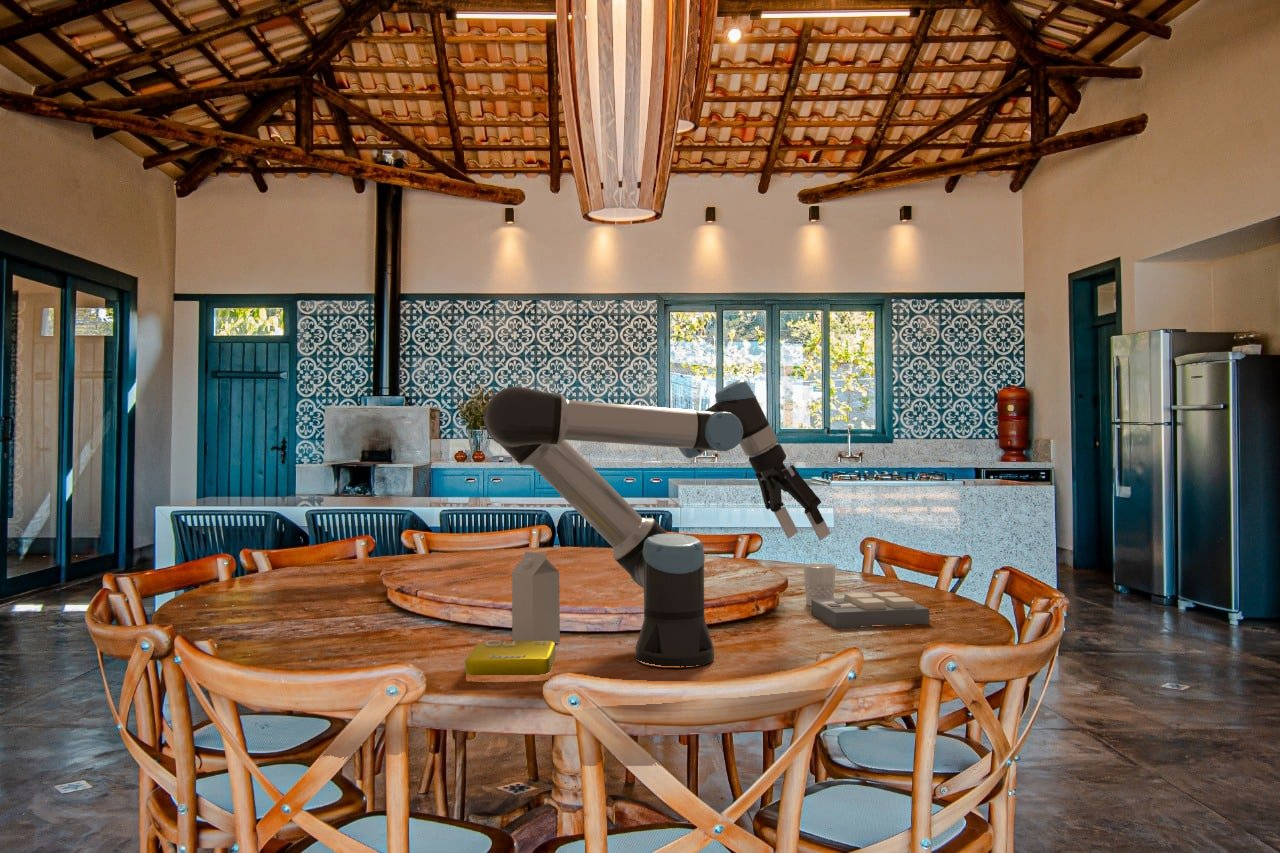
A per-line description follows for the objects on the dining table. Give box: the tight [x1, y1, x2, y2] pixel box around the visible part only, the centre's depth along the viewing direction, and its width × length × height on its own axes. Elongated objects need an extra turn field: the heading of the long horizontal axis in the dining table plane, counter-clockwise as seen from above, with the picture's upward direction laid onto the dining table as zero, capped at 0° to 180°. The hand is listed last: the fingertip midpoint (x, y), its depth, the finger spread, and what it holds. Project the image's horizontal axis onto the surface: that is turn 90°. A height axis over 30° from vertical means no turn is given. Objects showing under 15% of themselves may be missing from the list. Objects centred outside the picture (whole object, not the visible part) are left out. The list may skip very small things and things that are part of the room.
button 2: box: [856, 598, 885, 610], centre depth 202 cm, size 5×5×2 cm
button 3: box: [871, 591, 902, 602], centre depth 210 cm, size 5×5×2 cm
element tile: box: [464, 639, 557, 675], centre depth 163 cm, size 15×15×5 cm
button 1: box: [844, 592, 873, 604], centre depth 209 cm, size 5×5×2 cm
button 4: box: [885, 596, 916, 609], centre depth 203 cm, size 5×5×2 cm
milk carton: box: [511, 550, 561, 643], centre depth 185 cm, size 7×7×19 cm
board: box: [811, 597, 930, 629], centre depth 206 cm, size 22×16×4 cm
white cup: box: [803, 562, 836, 607], centre depth 224 cm, size 8×8×10 cm
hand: (808, 536), depth 190 cm, fingers open, 13 cm apart
